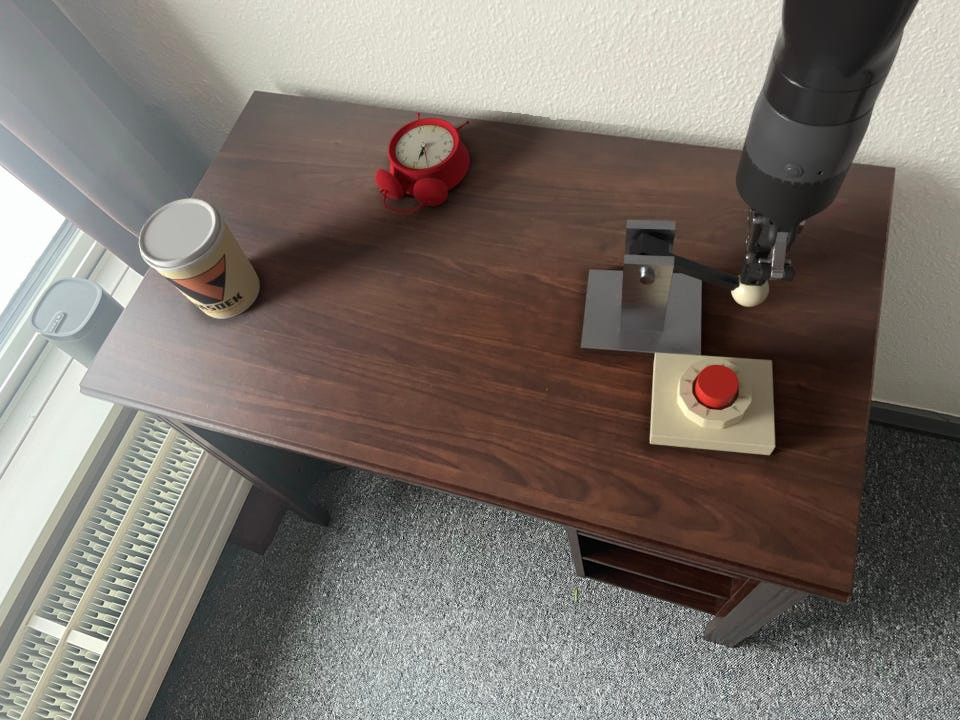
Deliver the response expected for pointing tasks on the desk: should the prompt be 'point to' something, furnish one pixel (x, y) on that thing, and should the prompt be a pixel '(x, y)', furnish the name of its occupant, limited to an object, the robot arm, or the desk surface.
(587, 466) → the desk surface
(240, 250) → the cream tin can
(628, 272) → the bracket
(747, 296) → the lever
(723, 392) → the button
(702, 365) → the control block
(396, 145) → the alarm clock
